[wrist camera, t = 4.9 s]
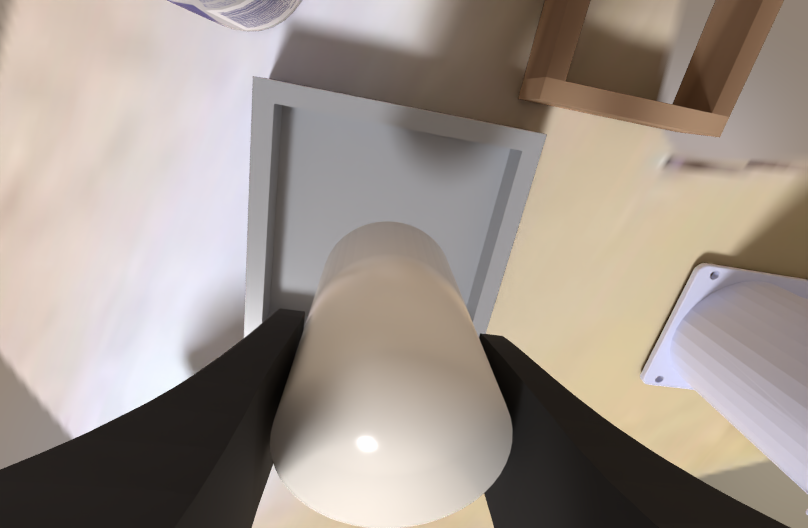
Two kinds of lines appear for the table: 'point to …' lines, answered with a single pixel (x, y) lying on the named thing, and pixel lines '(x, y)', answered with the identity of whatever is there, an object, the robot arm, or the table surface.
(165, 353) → the table surface
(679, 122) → the walnut square frame
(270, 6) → the energy drink
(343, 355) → the cream cylinder
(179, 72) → the table surface
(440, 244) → the grey tray
